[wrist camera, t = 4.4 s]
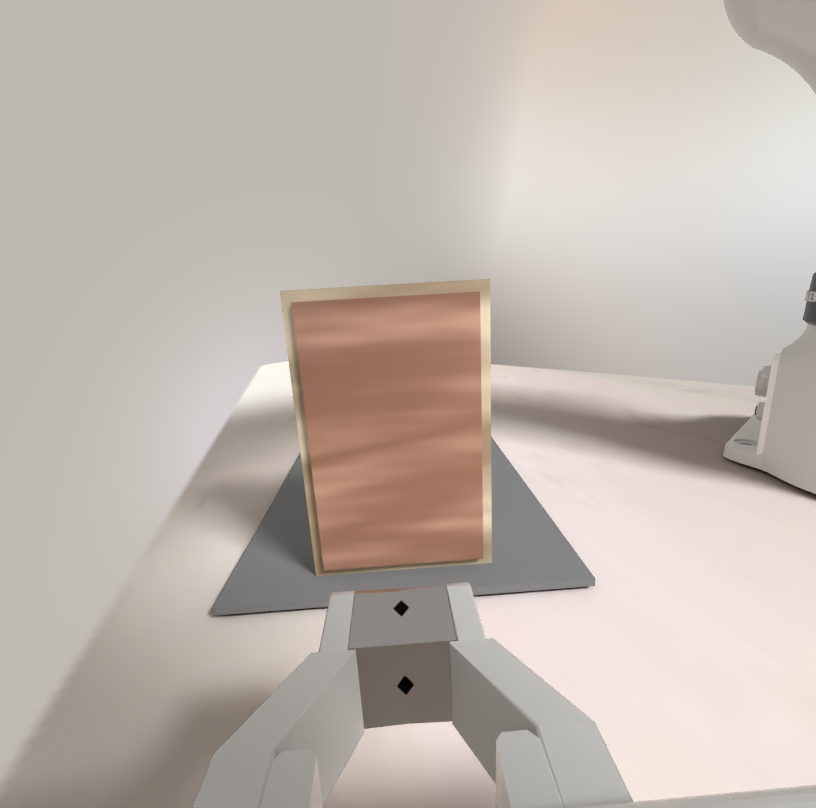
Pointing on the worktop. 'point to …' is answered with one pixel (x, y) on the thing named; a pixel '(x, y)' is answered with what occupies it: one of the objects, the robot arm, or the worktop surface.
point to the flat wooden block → (393, 423)
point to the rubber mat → (300, 587)
